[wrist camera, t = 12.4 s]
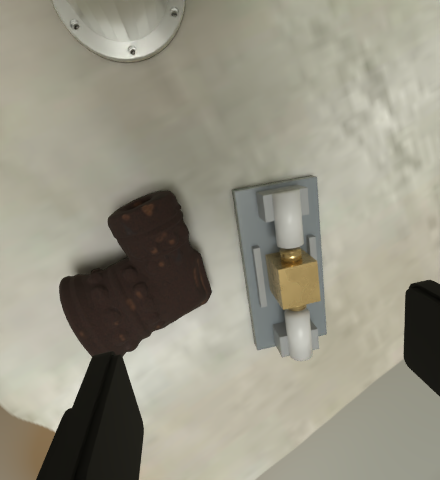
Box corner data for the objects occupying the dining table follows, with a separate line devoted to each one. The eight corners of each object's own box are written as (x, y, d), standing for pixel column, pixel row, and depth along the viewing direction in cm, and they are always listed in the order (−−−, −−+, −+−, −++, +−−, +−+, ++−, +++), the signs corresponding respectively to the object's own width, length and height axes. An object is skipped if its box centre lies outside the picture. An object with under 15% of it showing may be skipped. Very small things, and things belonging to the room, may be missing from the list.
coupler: (264, 245, 37) (276, 259, 33) (298, 238, 38) (316, 251, 33) (271, 298, 40) (284, 318, 35) (304, 291, 40) (321, 310, 35)
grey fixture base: (232, 190, 36) (242, 197, 31) (311, 175, 37) (335, 180, 32) (254, 343, 43) (266, 373, 37) (321, 328, 44) (343, 354, 38)
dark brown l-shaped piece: (180, 191, 28) (21, 267, 26) (236, 314, 34) (110, 387, 31) (164, 182, 37) (44, 238, 35) (210, 281, 43) (110, 335, 40)
